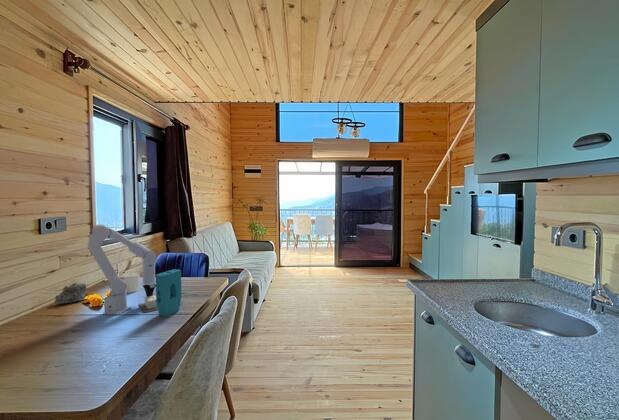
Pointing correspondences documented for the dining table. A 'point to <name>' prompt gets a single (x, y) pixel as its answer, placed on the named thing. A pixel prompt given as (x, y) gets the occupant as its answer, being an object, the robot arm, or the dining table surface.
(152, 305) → the block
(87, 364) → the dining table surface
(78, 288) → the mineral rock
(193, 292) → the dining table surface
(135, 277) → the white cup
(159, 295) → the block
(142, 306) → the mat
